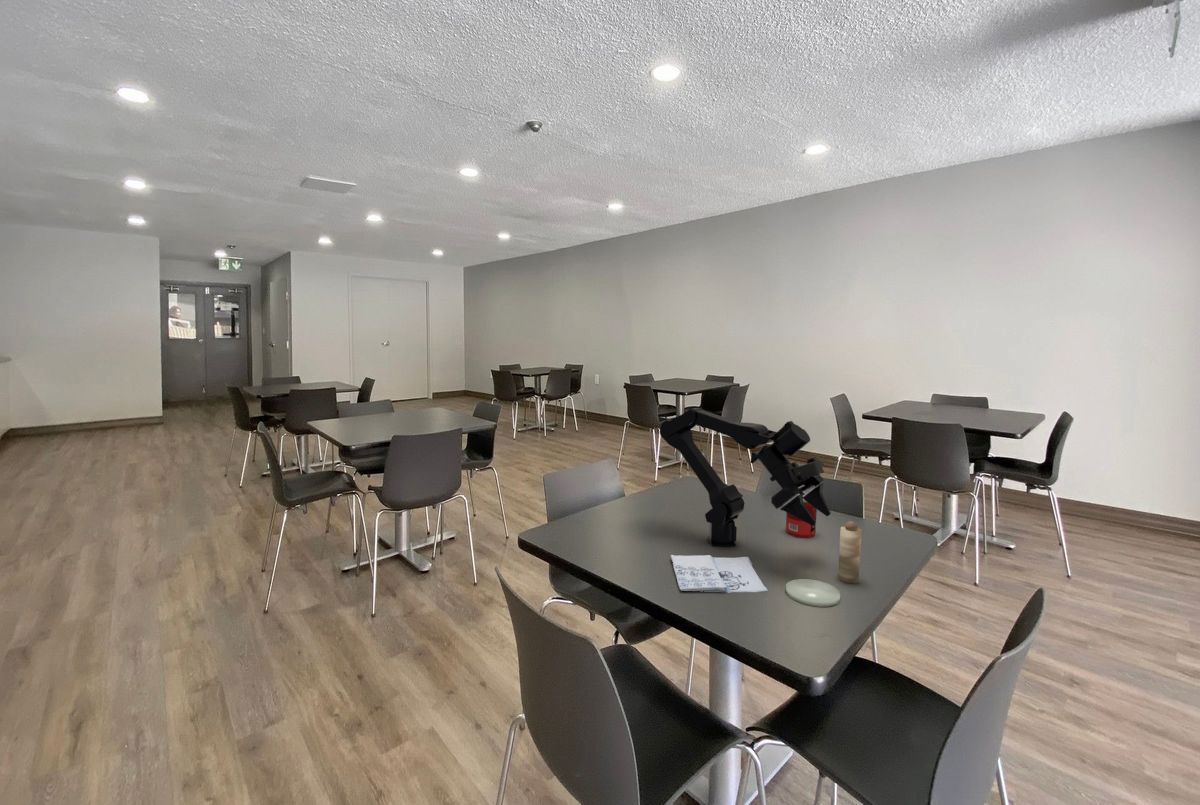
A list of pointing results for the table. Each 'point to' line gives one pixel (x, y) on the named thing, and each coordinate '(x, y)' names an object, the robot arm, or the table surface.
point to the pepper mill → (849, 553)
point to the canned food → (801, 523)
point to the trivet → (813, 592)
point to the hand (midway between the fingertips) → (821, 519)
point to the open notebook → (716, 574)
